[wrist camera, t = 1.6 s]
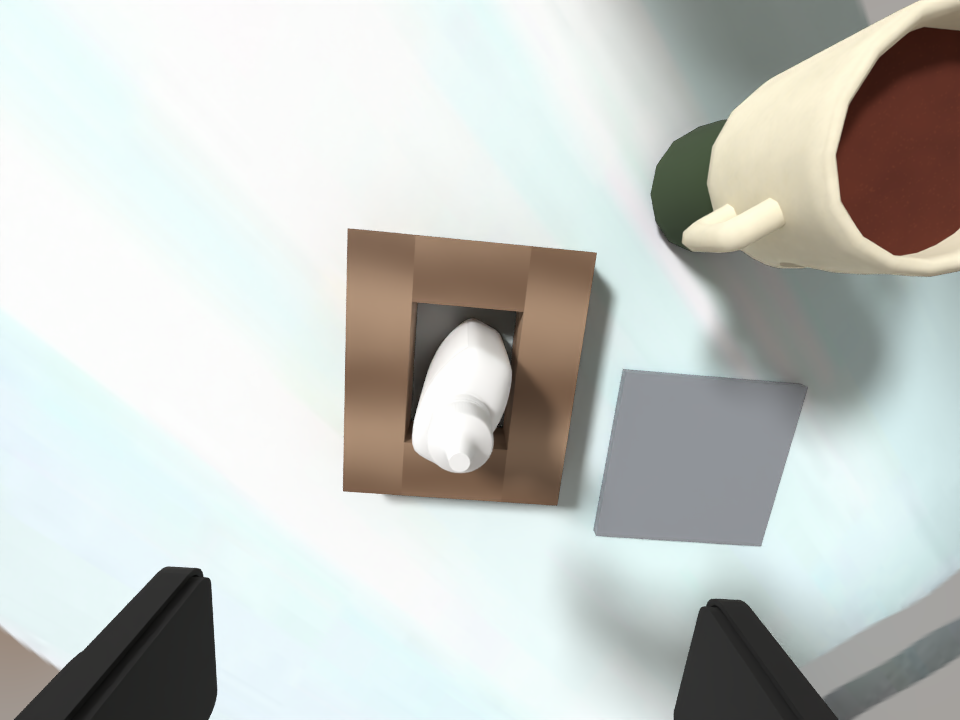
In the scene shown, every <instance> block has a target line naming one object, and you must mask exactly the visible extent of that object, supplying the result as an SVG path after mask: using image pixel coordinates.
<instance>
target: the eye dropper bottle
mask: <svg viewBox="0 0 960 720" xmlns="http://www.w3.org/2000/svg"><path fill="white" fill-rule="evenodd" d="M511 381H512V370H511V365H510V362H509V358H508V355H507V352H506V349H505V346H504V343H503V341H502V338H501V335H500V334H499V333H498V332H497V331H496V330H495V329H493V328H492V327H490V326H488V325H486V324H485V323H483V322H481V321H479V320H477V319H473V318H471V319H467V320H466V321H464V322H462V323H461V324H460V325H458V326H457V327H456V328H455V329H454V330H453V331H452V332H451V333H450V334H449V335H448V336H447V337H446V338H445V339H444V341H443V342H442V343H441V345H440V346H439V348H438V349H437V351H436V353H435V355H434V356H433V359H432V361H431V363H430V366H429V369H428V372H427V375H426V379H425V382H424V386H423V389H422V393H421V396H420V400H419V403H418V407H417V411H416V414H415V419H414V424H413V432H412V444H413V447H414V450H415V451H416V452H417V453H418V454H419V455H420V456H422V457H424V458H425V459H427V460H429V461H431V462H433V463H435V464H436V465H439V467H441V468H442V469H444V470H447V471H450V472H454V473H466V472H472V471H474V470H475V469H478V468H479V467H481V466H482V465H483V464H484V463H486V461H487V460H488V458H490V455H491V452H492V449H493V446H494V437H493V432H494V430H495V429H496V427H497V425H498V424H499V422H500V420H501V418H502V415H503V413H504V410H505V407H506V404H507V401H508V397H509V393H510V388H511Z"/></svg>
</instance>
